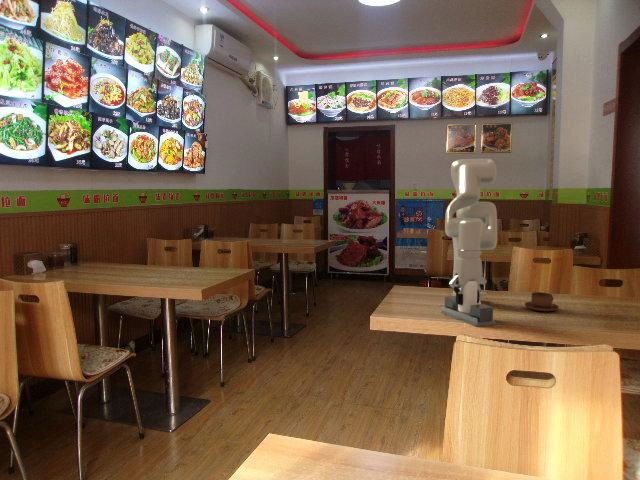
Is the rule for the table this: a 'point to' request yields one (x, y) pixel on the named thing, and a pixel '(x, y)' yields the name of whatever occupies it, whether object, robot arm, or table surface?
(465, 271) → the robot arm
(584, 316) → the table surface
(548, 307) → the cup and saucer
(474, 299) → the can
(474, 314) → the gray slotted holder
